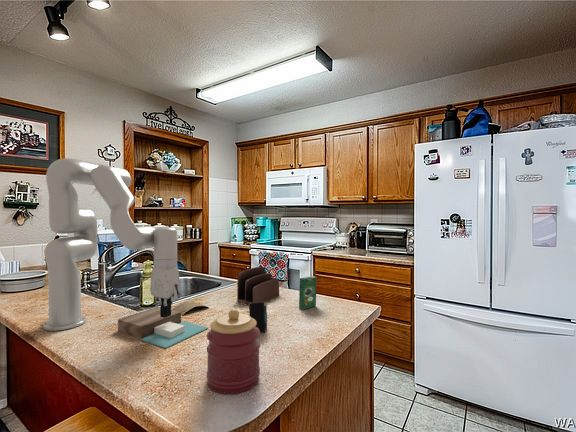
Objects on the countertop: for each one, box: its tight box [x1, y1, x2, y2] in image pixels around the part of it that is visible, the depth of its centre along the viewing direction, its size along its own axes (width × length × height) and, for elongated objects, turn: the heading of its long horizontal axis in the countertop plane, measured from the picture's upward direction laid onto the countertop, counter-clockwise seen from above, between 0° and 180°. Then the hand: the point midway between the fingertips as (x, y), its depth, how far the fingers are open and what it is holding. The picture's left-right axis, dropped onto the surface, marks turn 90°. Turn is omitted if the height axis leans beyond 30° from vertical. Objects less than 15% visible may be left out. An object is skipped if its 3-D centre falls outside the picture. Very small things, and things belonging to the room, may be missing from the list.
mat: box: [139, 320, 209, 350], centre depth 103 cm, size 12×18×1 cm, turn 151°
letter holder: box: [236, 266, 280, 305], centre depth 146 cm, size 10×20×14 cm, turn 146°
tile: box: [154, 322, 185, 338], centre depth 104 cm, size 8×6×2 cm
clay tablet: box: [171, 301, 210, 316], centre depth 129 cm, size 14×10×3 cm
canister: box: [206, 308, 261, 395], centre depth 76 cm, size 13×13×18 cm
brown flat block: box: [117, 306, 182, 339], centre depth 110 cm, size 13×16×4 cm
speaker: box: [248, 301, 268, 334], centre depth 108 cm, size 8×6×10 cm
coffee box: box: [298, 276, 317, 310], centre depth 132 cm, size 8×3×13 cm, turn 129°
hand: (165, 316), depth 106 cm, fingers closed
